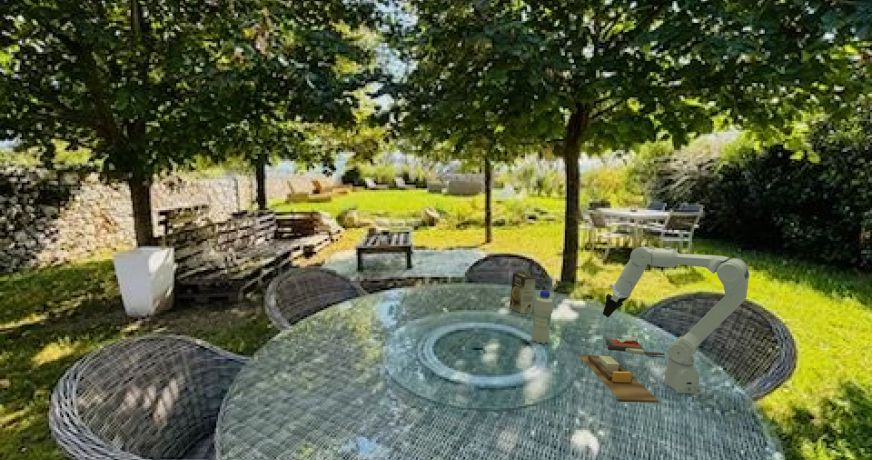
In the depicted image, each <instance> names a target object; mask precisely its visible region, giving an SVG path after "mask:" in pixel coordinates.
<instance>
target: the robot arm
mask: <svg viewBox="0 0 872 460" xmlns="http://www.w3.org/2000/svg"><path fill="white" fill-rule="evenodd" d="M648 265H649V266H652V267H662V268H673V269H674V268H675V267H676V266H677V265H684V266H691V267H699V268H706V269H707V270H708V271H709V272H710V273H711V274H713V275H714V274H716V275H717V277H718V279H719V281H720V282H721V284H722V286H723V289H724V296H723V297H722V298H721V299H720V300H719V301H718V302H717V303H716V304H715V305H714V306H713V307H712V308H711V309H710V310H709V311H708V312H706V314H705V315H704V316H703V317H702V318H701V319H700V320H699V321H698V322H697V323H696V324H695V325H693V327H692V328H691V329H690V330H689V331H688V332H687V333H686V334H684V335H681V336H679V337H677V339H676V340H675V341H674V342H672V343H670V345H669V346H668V348H667V354H668V355H667V356H668V358H667V362H666V368H665V376H664V384H665V385H666V386H668V387H670V388H671V389H673V390H674V391H675V392H676V393H677V394H694V395H695V396H700V393H699V392H698V388H699V382H700V373H699V371H698V370H697V369H696V367H695V360H694V359H695V358H694V357H693V355H695V354H696V352H697V350H698V347H699V346H700V344H702V342H703V341H705V340H706V339H707V338H708V337H709V335H710V334H711V333H713V332H714V330H716V329H717V328H718V327H719V326H720V325H721V324H722V323H723V322H724V321H725V320H726V319H727V318H728V317H729V316H730V315H731V314H733V312H734V311H736V310H737V309H738V307H740V306H741V304H743V303H744V302H745V300H746V298H747V297H748V289H749V288H748V287H749V281H750V280H749V279H750V276H751V275H750V271H749V268H748V265H747V263H746V262H745V261H744V260H742V259H741V258H735V257H733V258H730V257H729V256H724V255H716V254H713V255H712V254H696V253H695V254H691V253H679V252H678V251H677V250H676V249H675V248H672V247H671V246H665V247H664V248H661V247H654V246H639V247H637V248H634V249H633V250H632V251H631V252H630V257H629V260H628V262H627V263H626V264H625V266H624V268H623V270H622V271H621V273H620V275H619V276H618V278H617V280H616V282H615V283H610V284H609V287H610V288H611V289H612V295H611V294H610V293H607V294H606V296H605V306H604V307H603V308H604V309H603V311H602V315H603V316H605V317H607V318H609V317H611V315H613V313H614V312H615V311H616V310H617V309H618V308H620V307H622V306H623V305H624V303H623V302H625V301H626V300H628V299H629V298H630V297H631V294H632V292H633V291H634V289H635V287H636V285H637V284H638V282H639V281H640V279H641V278H642V276H643V274H644V272H645V270H646V269H647V267H648Z"/></svg>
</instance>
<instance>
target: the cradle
mask: <svg viewBox="0 0 872 460" xmlns="http://www.w3.org/2000/svg"><path fill="white" fill-rule="evenodd" d="M578 356H579V358H580V359H581V360H582V361H583V362H584V363H585V364H586V365H587V367H589V369H590V370H591V371H592V372H593V373H594V374H595V375H596V376H597V377H598V379H599V380H601V382H603V384H604V385H605V387H607V388H608V390H610V391H611V393H613V395H614V396H615V397H616V398H617V399H616V400H617V401H618V402H619V403H654V404H655V403H659V399H658V398H657V397H656V396H655V395H654V394H652V392H650V391H649V389H647V388H646V387H645V386H644V385H643V384H642V383H641V382H640V381H639V380H638V379H636V378H635V377H634V376H632V382H613V381H612V375H613V373H609V372H608V371H607V370H606V369H605V368H604V367H603V366H602V365H601V364H600V363H599V362H598V361H599V356H600V355H592V354H588V355H586V354H585V355H583V354H582V355H578ZM611 357H612V358H613V359H614V360H615V361H616V362H617V363H618V364H619V368H618V372H629V371H628V370H627V369H626V368H625V367H623V366H622V364H620V363H619V362H618V361H617V360H616V359H615V358H614V357H613V356H612V355H611Z"/></svg>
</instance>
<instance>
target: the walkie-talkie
mask: <svg viewBox="0 0 872 460" xmlns="http://www.w3.org/2000/svg"><path fill="white" fill-rule="evenodd" d="M605 346H608V347H607V350H609V351H618V352H625V353H630V354H632V355H633V354H634V355H635V354H636V355H643V356H644V355H646V356H665V353H664V352H656V351H646V350H643V349H644V348H643V347H644V346H642V345H641V344H640V343H639V341H638V340H637V339H635V338H630V337H624V338H621V339H619V338H615V339H609V338H606V341H605Z"/></svg>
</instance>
